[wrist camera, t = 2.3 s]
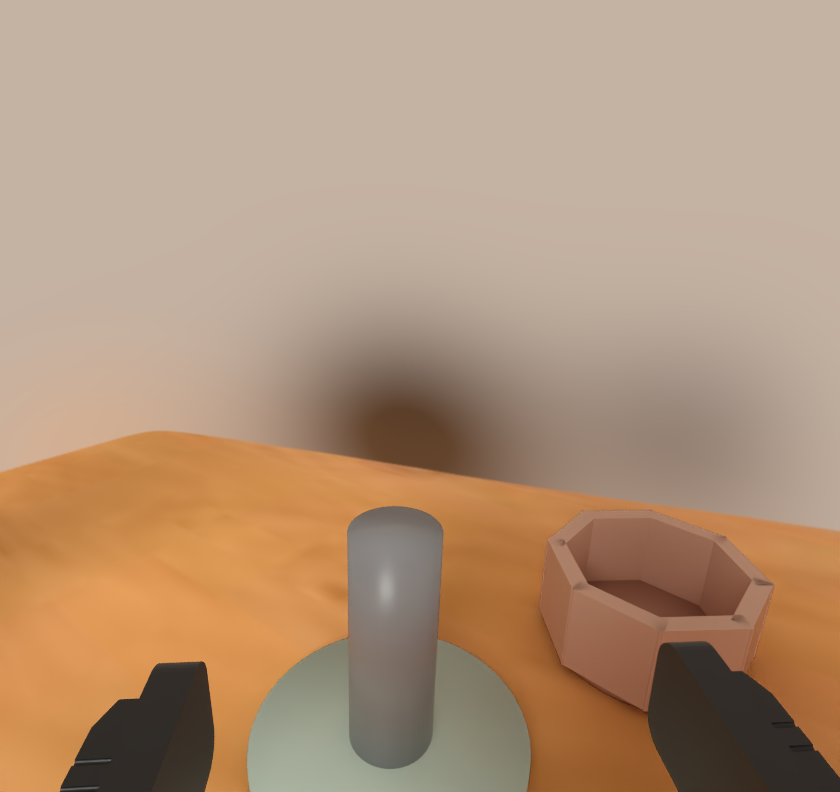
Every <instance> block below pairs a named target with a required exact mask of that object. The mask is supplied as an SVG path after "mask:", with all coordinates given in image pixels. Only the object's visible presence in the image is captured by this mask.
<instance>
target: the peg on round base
mask: <svg viewBox="0 0 840 792" xmlns="http://www.w3.org/2000/svg"><path fill="white" fill-rule="evenodd" d="M347 537H348V638H347V639H343V640H340V641H338V642H335V643H332V644H330V645H327V646H325V647H323V648H321V649H319V650H317V651H315V652H314V653H312V654H310V655H309V656H307V657H306V658H304V659H302V660H301V661H300V662H299V663H297V664H296V665H295V666H294V667H292V668H291V669H290V670H289V671H288V672H287V673H286V674H285V675H284V676H283V677H282V678H281V679H280V680H279V681H278V682H277V683H276V684H275V686H274V687H273V688H272V689H271V691H270V692H269V693H268V695H267V697H266V698H265V700H264V702H263V703H262V705H261V707H260V709H259V711H258V713H257V715H256V718H255V720H254V723H253V726H252V730H251V733H250V737H249V744H248V751H247V772H248V784H249V791H250V792H527V790H528V782H529V775H530V764H531V748H530V738H529V733H528V729H527V724H526V721H525V719H524V716H523V713H522V710H521V708H520V706H519V705H518V703H517V701H516V699H515V697H514V695H513V694H512V692H511V691H510V690H509V688H508V687H507V685H506V684H505V683H504V682H503V681H502V679H501V678H500V677H499V676H498V675H497V674H496V673H495V672H494V671H493V670H492V669H491V668H490V667H488V666H487V665H486V664H485V663H484V662H482V661H481V660H479V659H478V658H477V657H475V656H474V655H472V654H471V653H469V652H467V651H465V650H463V649H462V648H460V647H458V646H455V645H453V644H451V643H448V642H446V641H443V640H440V639H438V622H439V604H440V585H441V567H442V549H443V529H442V526H441V524H440V523H439V522H438V521H437V520H436V519H435V518H434V517H432V516H431V515H429V514H427V513H425V512H423V511H420V510H417V509H413V508H408V507H398V506H392V507H381V508H376V509H372V510H369V511H367V512H364V513H362V514H361V515H359V516H357V517H356V518H355V519H354V520H353V521H352V522H351V523H350V525H349V527H348V531H347Z"/></svg>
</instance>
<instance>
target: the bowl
mask: <svg viewBox="0 0 840 792" xmlns="http://www.w3.org/2000/svg"><path fill="white" fill-rule="evenodd" d="M774 586H775V585H774V584H773V583H772V582H771V581H770V580H769V579H768V578H767V577H766V576H765V575H764V574H763V573H762V572H761V571H760V570H759V569H758V568H757V567H756V566H755V565H754V564H752V563H751V562H750V561H749V560H748V559H747V558H746V557H745V556H744V555H743V554H742V553H741V552H740V551H739V550H738V549H737V548H736V547H735V546H734V545H733V544H732V543H731V542H730V541H729V540H728V539H727V537H725V536H722V535H719V534H716V533H713V532H711V531H708V530H705V529H702V528H699V527H697V526H694V525H691V524H688V523H685V522H683V521H680V520H677V519H674V518H671V517H669V516H666V515H663V514H660V513H658V512H655V511H652V510H609V511H581V513H580V514H578V515H577V516H576V517H575V518H573V519H572V520H571V521H570V522H569V523H567V524H566V525H565V526H564V527H563V528H561V529H560V530H559V531H558V532H557V533H555V534H554V535H553V536H552V537H551V538H549V539H547V547H546V555H545V563H544V571H543V580H542V588H541V596H540V604H539V609H540V611H541V613H542V616H543V618H544V621H545V623H546V626H547V628H548V631H549V633H550V636H551V639H552V642H553V644H554V646H555V648H556V651H557V654H558V656H559V659H560V661H561V664H562V665H564V666H566V667H567V668H569V669H571V670H573V671H574V672H576V673H577V674H578V675H579V676H580V677H581V678H583V679H584V680H585V681H587V682H588V683H589V684H591V685H592V686H594V687H595V688H597V689H599V690H600V691H602V692H604V693H606V694H608V695H610V696H611V697H613V698H616V699H618V700H620V701H623V702H625V703H628V704H631V705H634V706H636V707H638V708H640V709H641V710H643V711H645V712H646V711H648V705H649V700H650V694H651V689H652V683H653V678H654V672H655V667H656V661H657V656H658V651H659V648H660V646H661V645H662V644H663V643H669V642H691V641H706V642H708V643H710V644H711V645H712V646H713V647H714V649H715V650H716V651H717V652H718V654H719V655H720V656H721V658H722V659H723V660H724V662H725V663H726V664H727V666H728V667H729V668H730V670H731V671H743V672H744V673H745V674H746V673H747V671H748V669H749V666H750V664H751V662H752V660H753V659H754V658H755V654H756V650H757V647H758V643H759V640H760V636H761V632H762V629H763V625H764V622H765V618H766V614H767V611H768V607H769V604H770V600H771V596H772V593H773V589H774Z"/></svg>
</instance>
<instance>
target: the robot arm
mask: <svg viewBox="0 0 840 792" xmlns="http://www.w3.org/2000/svg"><path fill="white" fill-rule="evenodd" d="M648 721H649V728H650V732H651V736H652V739H653V742H654V744H655V747H656V749H657V751H658V753H659V755H660V757H661V759H662V761H663V763H664V764H665V766H666V768H667V770H668V772H669V774H670V776H671V778H672V780H673V782H674V784H675V786H676V788H677V790H678V792H840V778H839V776H838V775H837V774H836V773H835V771H834V770H833V769H832V768H831V766H830V765H829V764H828V763H827V762H826V760H825V759H824V758H823V757H822V755H821V754H820V753H819V752H818V751H815V750H814V749H813V744H812V743H811V742H810V740H809V739H808V738H807V737H806V735H805V734H804V733H803V732H802V730H801V729H800V728H799V727H796V726H795V724H794V720H793V719H792V718H791V717H790V715H789V714H788V713H787V712H786V711H785V709H784V708H783V707H782V706H781V704H780V703H779V702H778V701H777V699H776V698H775V697H774V696H773V694H772V693H770V692H769V691H768V690H766V689H765V688H764V687H762V686H761V685H760V684H759V683H757V682H756V681H755V680H753V679H752V678H751V677H749V676H748V675H747V674H745V673H744V672H743V671H731V670H730V668H729V667H728V666H727V664H726V663H725V662H724V660H723V659H722V658H721V656H720V655H719V654H718V652H717V651H716V650H715V649H714V647H713V646H712V645H711V644H710V643H708V642H706V641H691V642H669V643H663V644H662V645H661V646H660V648H659V651H658V656H657V661H656V667H655V672H654V678H653V683H652V689H651V694H650V700H649V705H648ZM213 751H214V724H213V716H212V708H211V700H210V692H209V683H208V675H207V668H206V665H205V663H204V662H181V663H159V664H157V665H156V666H155V667H154V668H153V670H152V672H151V674H150V676H149V679H148V681H147V683H146V685H145V687H144V690H143V692H142V694H141V696H140V698H139V699H121V700H118V701H117V702H116V703H115V704H114V705H113V706H112V707H111V708H110V709H109V710H108V711H107V712H106V713H105V714H104V715H103V716H102V717H101V718H100V719H99V721H98V722H97V723H96V724H95V725H94V726H93V727H92V728H91V730H90V732H89V734H88V735H87V737H86V739H85V741H84V743H83V745H82V747H81V749H80V751H79V753H78V755H77V757H76V758H75V764H74V766H71V768H70V770H69V772H68V774H67V776H66V778H65V779H64V781H63V783H62V785H61V790H60V792H205V788H206V784H207V781H208V777H209V773H210V769H211V765H212V759H213Z"/></svg>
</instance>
